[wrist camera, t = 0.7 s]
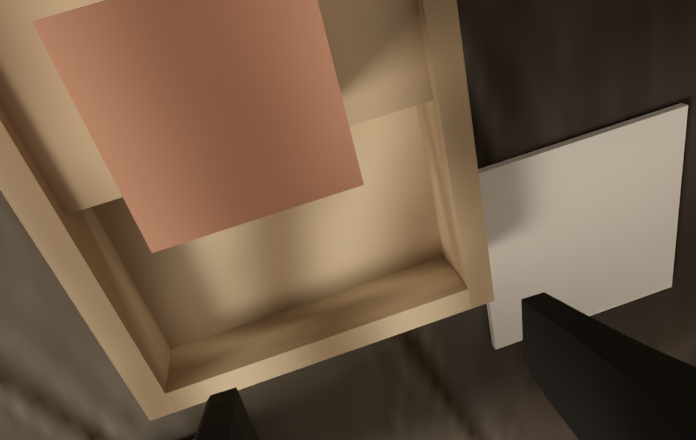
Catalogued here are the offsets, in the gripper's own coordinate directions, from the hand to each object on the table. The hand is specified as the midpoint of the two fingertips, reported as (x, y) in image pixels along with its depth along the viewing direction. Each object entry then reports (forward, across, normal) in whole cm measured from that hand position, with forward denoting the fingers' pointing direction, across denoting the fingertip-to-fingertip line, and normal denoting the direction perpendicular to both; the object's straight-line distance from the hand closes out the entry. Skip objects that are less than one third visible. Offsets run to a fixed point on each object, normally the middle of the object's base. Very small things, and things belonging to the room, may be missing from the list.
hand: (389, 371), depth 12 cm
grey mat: (+10, -12, +5) cm, 16 cm away
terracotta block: (+6, +2, -7) cm, 10 cm away
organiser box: (+10, +2, -3) cm, 10 cm away
